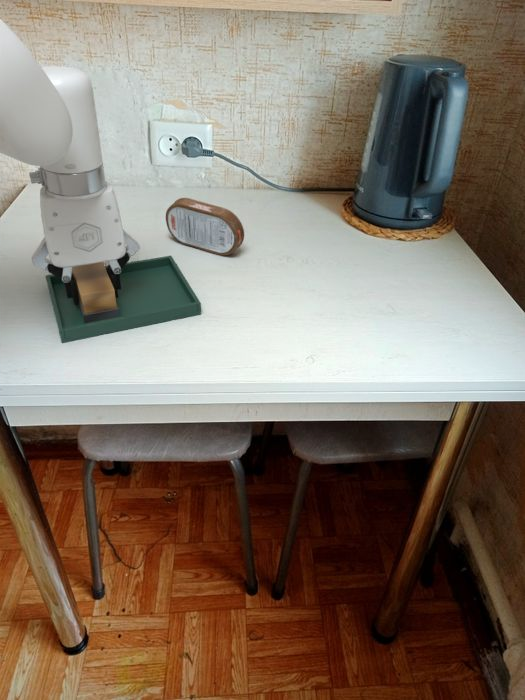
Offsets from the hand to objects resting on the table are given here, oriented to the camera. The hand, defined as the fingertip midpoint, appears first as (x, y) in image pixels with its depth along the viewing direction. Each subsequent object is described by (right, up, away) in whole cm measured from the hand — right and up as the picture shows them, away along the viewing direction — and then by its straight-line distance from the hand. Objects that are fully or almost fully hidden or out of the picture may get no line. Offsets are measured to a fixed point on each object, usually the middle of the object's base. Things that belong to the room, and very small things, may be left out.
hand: (95, 295), depth 76 cm
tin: (+14, +10, +17) cm, 25 cm away
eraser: (0, -1, +1) cm, 1 cm away
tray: (+4, 0, +3) cm, 4 cm away
